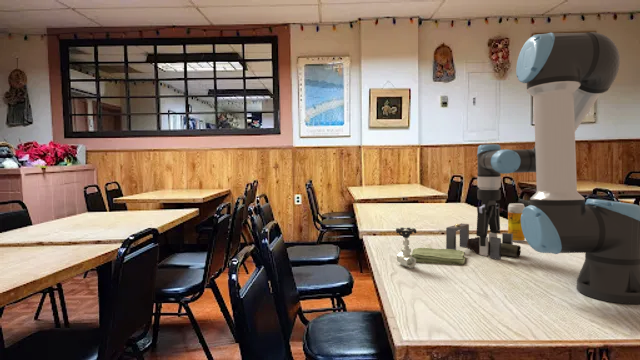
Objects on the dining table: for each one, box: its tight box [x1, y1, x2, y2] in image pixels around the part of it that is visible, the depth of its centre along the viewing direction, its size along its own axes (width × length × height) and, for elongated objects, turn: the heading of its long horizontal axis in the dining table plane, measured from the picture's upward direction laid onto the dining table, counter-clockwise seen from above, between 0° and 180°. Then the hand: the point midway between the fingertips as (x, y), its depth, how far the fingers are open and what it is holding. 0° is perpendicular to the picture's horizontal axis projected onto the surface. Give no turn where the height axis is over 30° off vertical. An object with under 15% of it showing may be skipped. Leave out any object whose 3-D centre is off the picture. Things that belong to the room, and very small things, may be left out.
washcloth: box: [410, 247, 466, 266], centre depth 137 cm, size 13×18×3 cm
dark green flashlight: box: [466, 236, 522, 259], centre depth 142 cm, size 18×7×6 cm, turn 48°
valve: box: [395, 227, 417, 269], centre depth 129 cm, size 7×7×12 cm
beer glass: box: [507, 202, 526, 243], centre depth 163 cm, size 6×6×15 cm
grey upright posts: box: [445, 223, 514, 261], centre depth 145 cm, size 12×19×9 cm, turn 45°
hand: (488, 252), depth 143 cm, fingers open, 7 cm apart
